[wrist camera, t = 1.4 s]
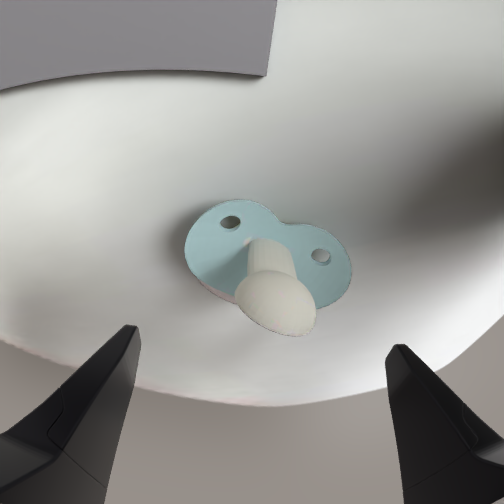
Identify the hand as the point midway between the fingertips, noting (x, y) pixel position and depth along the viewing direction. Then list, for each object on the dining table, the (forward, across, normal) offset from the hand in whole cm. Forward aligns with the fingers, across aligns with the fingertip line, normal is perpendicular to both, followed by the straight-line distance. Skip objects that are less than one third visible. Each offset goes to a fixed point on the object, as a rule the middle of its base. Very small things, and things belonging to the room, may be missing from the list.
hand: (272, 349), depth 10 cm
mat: (+6, +8, -15) cm, 18 cm away
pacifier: (+6, 0, 0) cm, 6 cm away
